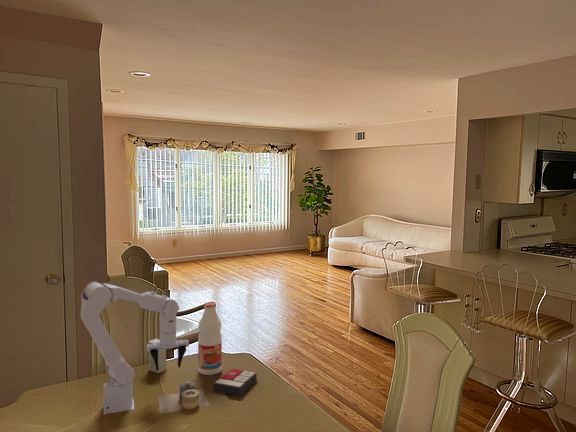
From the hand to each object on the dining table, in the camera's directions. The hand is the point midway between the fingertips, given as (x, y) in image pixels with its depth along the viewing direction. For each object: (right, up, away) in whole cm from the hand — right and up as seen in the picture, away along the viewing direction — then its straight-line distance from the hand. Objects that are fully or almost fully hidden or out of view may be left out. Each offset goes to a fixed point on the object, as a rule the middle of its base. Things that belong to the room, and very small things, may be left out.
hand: (168, 367), depth 157 cm
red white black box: (+24, -10, +7) cm, 27 cm away
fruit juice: (+12, -9, +20) cm, 25 cm away
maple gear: (+10, -10, -9) cm, 16 cm away
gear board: (+7, -10, -6) cm, 14 cm away
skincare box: (-10, -8, +20) cm, 24 cm away
